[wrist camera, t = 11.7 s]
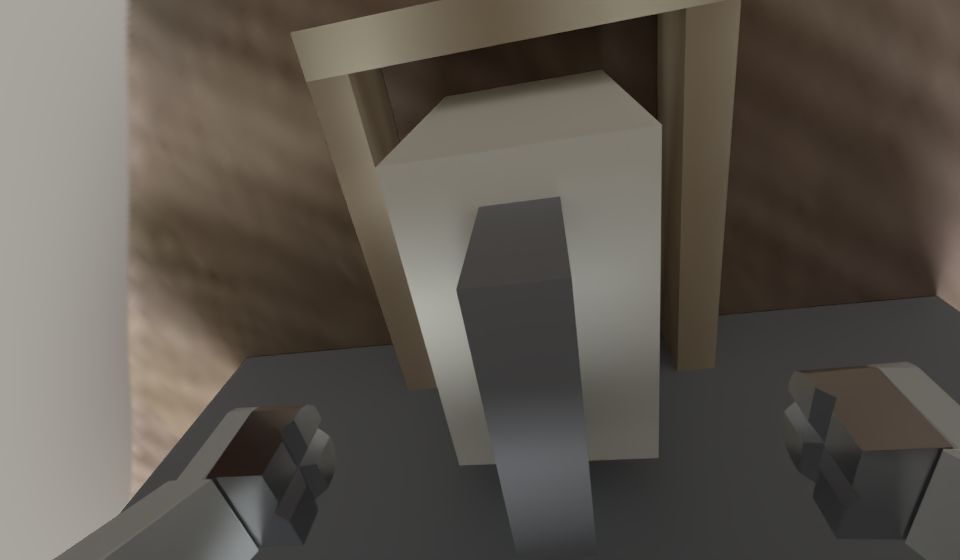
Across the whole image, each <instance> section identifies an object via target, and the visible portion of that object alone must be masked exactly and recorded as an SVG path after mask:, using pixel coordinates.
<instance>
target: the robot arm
mask: <svg viewBox="0 0 960 560" xmlns="http://www.w3.org/2000/svg"><path fill="white" fill-rule="evenodd" d="M788 391H789V393H790V394H791V396H792V397H793V399H794V400H795V402H794V403H793V404H792V405H790V406H789V407H788V408H787V409H786V410H785V411H784V417H783V425H782V428H783V435H784V441H785V445H786V448H787V451H788V453H789V456H790V458H791V460H792V462H793V464H794V465H795V467H796V469H797V471H798V472H799V473H801V474H802V475H804V476H805V477H807V478H808V479H810V480H811V481H813V482H814V483H815V487H814V492H813V496H812V497H813V499H814V501H815V502H816V504H817V506H818V508H819V509H820V511H821V513H822V515H823V516H824V518H825V520H826V521H827V523H828V525H829V527H830V528H831V530H832V532H833V533H834V535H835V537H836V539H887V540H906V541H905V543H906V544H907V545H908V546H909V547H911V548H912V549H913V550H915V551H916V552H917V553H918V554H920V555H921V556H922V557H924V558H925V559H926V560H960V405H959V404H958V403H957V402H955V401H954V400H953V399H952V398H951V397H950V396H949V395H948V394H947V393H946V392H945V391H944V390H942V389H941V388H940V387H939V386H938V385H937V384H936V383H935V382H934V381H933V380H932V379H931V378H929V377H928V376H927V375H926V374H925V373H924V372H923V371H922V370H921V369H920V368H919V367H917V366H916V365H913V364H911V363H909V362H896V363H884V364H872V365H867V366H851V367H838V368H825V369H812V370H799V371H795V372H794V373H793V374H792V376H791V377H790V381H789V387H788ZM321 420H322V419H321V417H320V415H319V413H318V411H317V409H316V407H315V406H312V405H308V404H302V405H278V406H260V407H244V408H236V409H234V410H232V411H230V412H228V413H227V414H226V416H225V417H224V418H223V420H222V421H221V422H220V424H219V425H218V426H217V428H216V429H215V430H214V432H213V433H212V434H211V435H210V437H209V438H208V439H207V441H206V442H205V443H204V445H203V446H202V447H201V449H200V450H199V451H198V453H197V454H196V455H195V456H194V458H193V459H192V460H191V462H190V463H189V464H188V466H187V467H186V468H185V470H184V471H183V472H182V474H181V475H180V476H179V477H178V479H177V480H176V481H168V482H166V483H165V484H163V485H162V486H160V487H159V488H157V489H156V490H154V491H153V492H151V493H150V494H149V495H147V496H146V497H144V498H143V499H141V500H140V501H138V502H137V503H135V504H134V505H132V506H131V507H129V508H128V509H127V510H125V511H124V512H122V513H121V514H119V515H118V516H116V517H115V518H113V519H112V520H111V521H109V522H108V523H106V524H105V525H103V526H102V527H100V528H99V529H97V530H96V531H94V532H93V533H91V534H90V535H88V536H87V537H86V538H84V539H83V540H81V541H80V542H78V543H77V544H75V545H74V546H72V547H71V548H69V549H68V550H66V551H65V552H64V553H62V554H61V555H59V556H58V557H56V558H55V559H53V560H251V558H252V557H253V556H254V555H255V554H256V553H257V552H258V551H259V549H258V548H264V547H286V546H304V543H305V541H306V539H307V536H308V534H309V532H310V529H311V527H312V525H313V523H314V520H315V518H316V516H317V513H318V511H319V509H318V506H317V502H316V499H317V498H318V497H319V496H320V495H321V494H322V493H323V492H324V491H325V490H327V489H328V487H329V485H330V482H331V480H332V477H333V475H334V469H335V461H336V455H335V449H334V445H333V442H332V440H331V438H330V436H329V435H327V434H326V433H324V432H323V431H322V430H320V429H319V428H318V427H319V425H320V422H321Z"/></svg>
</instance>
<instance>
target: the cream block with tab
mask: <svg viewBox="0 0 960 560" xmlns="http://www.w3.org/2000/svg"><path fill="white" fill-rule="evenodd" d="M375 169H376V173H377V176H378V180H379V183H380V187H381V190H382V194H383V198H384V201H385V205H386V208H387V212H388V215H389V219H390V222H391V226H392V229H393V233H394V236H395V240H396V243H397V247H398V250H399V254H400V257H401V261H402V265H403V268H404V272H405V275H406V279H407V282H408V286H409V289H410V293H411V296H412V300H413V303H414V307H415V310H416V314H417V317H418V321H419V324H420V328H421V332H422V335H423V339H424V342H425V346H426V349H427V353H428V356H429V360H430V363H431V367H432V370H433V374H434V377H435V381H436V384H437V388H438V391H439V395H440V399H441V402H442V406H443V409H444V413H445V416H446V420H447V423H448V427H449V430H450V434H451V437H452V441H453V444H454V448H455V451H456V455H457V458H458V462H459V465H485V464H496V466H497V470H498V475H499V479H500V483H501V488H502V492H503V497H504V501H505V505H506V510H507V514H508V518H509V523H510V527H511V531H512V536H513V540H514V545H515V549H516V553H517V557H597V547H596V536H595V525H594V514H593V503H592V492H591V482H590V471H589V461H592V460H619V459H646V458H659V369H660V271H661V174H662V124H661V123H660V122H658V121H657V120H656V119H655V118H654V117H653V116H652V115H651V114H650V113H649V112H647V111H646V110H645V109H644V108H643V107H642V106H641V105H640V104H639V103H638V102H637V101H635V100H634V99H633V98H632V97H631V96H630V95H629V94H628V93H627V92H626V91H625V90H623V89H622V88H621V87H620V86H619V85H618V84H617V83H616V82H615V81H614V80H613V79H611V78H610V77H609V76H608V75H607V74H606V73H605V72H604V71H603V70H597V71H591V72H585V73H579V74H574V75H568V76H562V77H556V78H550V79H545V80H539V81H533V82H527V83H521V84H516V85H510V86H504V87H498V88H493V89H487V90H481V91H475V92H469V93H464V94H458V95H452V96H446V97H444V98H443V99H442V100H441V101H440V102H439V103H438V104H437V105H436V106H435V108H434V109H433V110H432V111H431V112H430V113H429V114H428V115H427V116H426V117H425V118H424V119H423V120H422V121H421V122H420V123H419V124H418V125H417V126H416V127H415V128H414V129H413V130H412V131H411V132H410V133H409V134H408V135H407V136H406V137H405V138H404V139H403V140H402V141H401V142H400V143H399V144H398V145H397V146H396V147H395V148H394V149H393V150H392V151H391V152H390V153H389V154H388V155H387V156H386V157H385V158H384V159H383V160H382V161H381V162H380V163H379V164H378V165H377V166H376V167H375Z"/></svg>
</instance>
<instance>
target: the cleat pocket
mask: <svg viewBox="0 0 960 560" xmlns="http://www.w3.org/2000/svg"><path fill="white" fill-rule="evenodd" d="M740 11H741V0H439V1H434V2H429V3H425V4H420V5H415V6H411V7H406V8H401V9H397V10H392V11H388V12H383V13H378V14H374V15H369V16H364V17H360V18H355V19H350V20H346V21H341V22H336V23H332V24H327V25H323V26H318V27H313V28H309V29H304V30H299V31H295V32H290V35H291V38H292V41H293V44H294V47H295V50H296V53H297V56H298V59H299V62H300V65H301V68H302V71H303V74H304V77H305V80H306V83H307V86H308V89H309V92H310V95H311V98H312V101H313V104H314V107H315V110H316V113H317V116H318V119H319V122H320V125H321V128H322V131H323V134H324V137H325V140H326V143H327V146H328V149H329V152H330V156H331V159H332V162H333V165H334V168H335V171H336V174H337V177H338V180H339V183H340V186H341V189H342V192H343V195H344V198H345V201H346V204H347V207H348V210H349V213H350V216H351V219H352V222H353V225H354V228H355V231H356V234H357V237H358V240H359V243H360V246H361V249H362V252H363V255H364V258H365V261H366V264H367V267H368V270H369V273H370V276H371V279H372V282H373V285H374V288H375V291H376V294H377V297H378V300H379V303H380V306H381V309H382V313H383V316H384V319H385V322H386V325H387V328H388V331H389V334H390V337H391V340H392V343H393V346H394V349H395V352H396V355H397V358H398V361H399V364H400V367H401V370H402V373H403V376H404V379H405V382H406V385H407V388H408V390H416V389H430V388H437V384H436V381H435V377H434V374H433V370H432V367H431V363H430V360H429V356H428V353H427V349H426V346H425V342H424V339H423V335H422V332H421V328H420V324H419V321H418V317H417V314H416V310H415V307H414V303H413V300H412V296H411V293H410V289H409V286H408V282H407V279H406V275H405V272H404V268H403V265H402V261H401V257H400V254H399V250H398V247H397V243H396V240H395V236H394V233H393V229H392V226H391V222H390V219H389V215H388V212H387V208H386V205H385V201H384V198H383V194H382V190H381V187H380V183H379V180H378V176H377V173H376V169H375V167H376V166H377V165H378V164H379V163H380V162H381V161H382V160H383V159H384V158H385V157H386V156H387V155H388V154H389V153H390V152H391V151H392V150H393V149H394V148H395V147H396V146H397V145H398V144H399V143H400V141H399V137H398V133H397V129H396V125H395V121H394V117H393V114H392V110H391V106H390V102H389V98H388V94H387V90H386V86H385V82H384V79H383V75H382V71H381V67H386V66H391V65H396V64H402V63H407V62H412V61H417V60H422V59H427V58H432V57H438V56H443V55H448V54H453V53H458V52H463V51H468V50H474V49H479V48H484V47H489V46H494V45H499V44H504V43H509V42H515V41H520V40H525V39H530V38H535V37H540V36H545V35H551V34H556V33H561V32H566V31H571V30H576V29H581V28H586V27H592V26H597V25H602V24H607V23H612V22H617V21H622V20H628V19H633V18H638V17H643V16H648V15H653V14H657V121H658V122H660V123H661V124H662V174H661V271H660V328H661V331H662V333H663V336H664V338H665V341H666V344H667V346H668V349H669V351H670V354H671V356H672V359H673V361H674V364H675V366H676V369H677V371H680V370H694V369H708V368H714V367H715V353H716V340H717V326H718V312H719V299H720V285H721V271H722V258H723V244H724V230H725V216H726V203H727V189H728V175H729V162H730V148H731V134H732V121H733V107H734V93H735V79H736V66H737V52H738V38H739V25H740Z"/></svg>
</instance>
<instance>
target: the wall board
mask: <svg viewBox="0 0 960 560" xmlns="http://www.w3.org/2000/svg"><path fill="white" fill-rule="evenodd" d="M896 362H909V363H911V364H913V365H916V366H917V367H919V368H920V369H921V370H922V371H923V372H924V373H925V374H926V375H927V376H928V377H929V378H931V379H932V380H933V381H934V382H935V383H936V384H937V385H938V386H939V387H940V388H941V389H942V390H944V391H945V392H946V393H947V394H948V395H949V396H950V397H951V398H952V399H953V400H954V401H955V402H957V403H958V404H959V405H960V312H959V311H958V310H956V309H955V308H954V307H952V306H951V305H949V304H948V303H947V302H945V301H944V300H942V299H941V298H940V297H938V296H931V297H920V298H909V299H897V300H886V301H875V302H864V303H853V304H842V305H830V306H819V307H808V308H797V309H786V310H775V311H763V312H752V313H741V314H730V315H719V316H718V326H717V340H716V353H715V367H714V368H708V369H694V370H680V371H677V369H676V366H675V364H674V361H673V359H672V356H671V354H670V351H669V349H668V346H667V344H666V341H665V338H664V336H663V333H662V331H661V328H660V369H659V458H646V459H619V460H592V461H589V471H590V482H591V492H592V503H593V514H594V525H595V536H596V547H597V557H517V553H516V549H515V545H514V540H513V536H512V531H511V527H510V523H509V518H508V514H507V510H506V505H505V501H504V497H503V492H502V488H501V483H500V479H499V475H498V470H497V466H496V464H485V465H459V462H458V458H457V455H456V451H455V448H454V444H453V441H452V437H451V434H450V430H449V427H448V423H447V420H446V416H445V413H444V409H443V406H442V402H441V399H440V395H439V391H438V388H430V389H416V390H408V388H407V385H406V382H405V379H404V376H403V373H402V370H401V367H400V364H399V361H398V358H397V355H396V352H395V349H394V346H393V345H383V346H372V347H361V348H350V349H339V350H328V351H316V352H305V353H294V354H283V355H272V356H261V357H249V358H246V359H245V361H244V362H243V363H242V364H241V365H240V367H239V368H238V369H237V370H236V372H235V373H234V374H233V375H232V377H231V378H230V379H229V380H228V381H227V383H226V384H225V385H224V386H223V388H222V389H221V390H220V391H219V392H218V394H217V395H216V396H215V397H214V399H213V400H212V401H211V402H210V404H209V405H208V406H207V407H206V408H205V410H204V411H203V412H202V413H201V415H200V416H199V417H198V418H197V419H196V421H195V422H194V423H193V424H192V426H191V427H190V428H189V429H188V431H187V432H186V433H185V434H184V435H183V437H182V438H181V439H180V440H179V442H178V443H177V444H176V445H175V446H174V448H173V449H172V450H171V451H170V453H169V454H168V455H167V456H166V458H165V459H164V460H163V461H162V462H161V464H160V465H159V466H158V467H157V469H156V470H155V471H154V472H153V473H152V475H151V476H150V477H149V478H148V480H147V481H146V482H145V483H144V485H143V486H142V487H141V488H140V489H139V491H138V492H137V493H136V494H135V496H134V497H133V498H132V499H131V500H130V502H129V503H128V504H127V505H126V507H125V508H124V509H123V510H122V512H124V511H125V510H127V509H128V508H129V507H131V506H132V505H134V504H135V503H137V502H138V501H140V500H141V499H143V498H144V497H146V496H147V495H149V494H150V493H151V492H153V491H154V490H156V489H157V488H159V487H160V486H162V485H163V484H165V483H166V482H168V481H176V480H177V479H178V477H179V476H180V475H181V474H182V472H183V471H184V470H185V468H186V467H187V466H188V464H189V463H190V462H191V460H192V459H193V458H194V456H195V455H196V454H197V453H198V451H199V450H200V449H201V447H202V446H203V445H204V443H205V442H206V441H207V439H208V438H209V437H210V435H211V434H212V433H213V432H214V430H215V429H216V428H217V426H218V425H219V424H220V422H221V421H222V420H223V418H224V417H225V416H226V414H227V413H228V412H230V411H232V410H234V409H236V408H244V407H260V406H278V405H302V404H308V405H312V406H315V407H316V409H317V411H318V413H319V415H320V417H321V419H322V420H321V422H320V425H319V427H318V428H319V429H320V430H322V431H323V432H324V433H326V434H327V435H329V436H330V438H331V440H332V442H333V445H334V449H335V455H336V461H335V469H334V475H333V477H332V480H331V482H330V485H329V487H328V489H327V490H325V491H324V492H323V493H322V494H321V495H320V496H319V497H318V498H317V499H316V502H317V506H318V509H319V511H318V513H317V516H316V518H315V520H314V523H313V525H312V527H311V529H310V532H309V534H308V536H307V539H306V541H305V543H304V546H286V547H264V548H258V549H259V551H258V552H257V553H256V554H255V555H254V556H253V557H252V558H251V560H926V559H925V558H924V557H922V556H921V555H920V554H918V553H917V552H916V551H915V550H913V549H912V548H911V547H909V546H908V545H907V544H906V543H905V541H906V540H887V539H836V537H835V535H834V533H833V532H832V530H831V528H830V527H829V525H828V523H827V521H826V520H825V518H824V516H823V515H822V513H821V511H820V509H819V508H818V506H817V504H816V502H815V501H814V499H813V497H812V496H813V492H814V487H815V483H814V482H813V481H811V480H810V479H808V478H807V477H805V476H804V475H802V474H801V473H799V472H798V471H797V469H796V467H795V465H794V464H793V462H792V460H791V458H790V456H789V453H788V451H787V448H786V445H785V441H784V435H783V428H782V425H783V417H784V411H785V410H786V409H787V408H788V407H789V406H790V405H792V404H793V403H794V402H795V400H794V399H793V397H792V396H791V394H790V393H789V391H788V387H789V381H790V377H791V376H792V374H793V373H794V372H795V371H799V370H812V369H825V368H838V367H851V366H867V365H872V364H884V363H896ZM122 512H121V513H122ZM121 513H120V514H121Z"/></svg>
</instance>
